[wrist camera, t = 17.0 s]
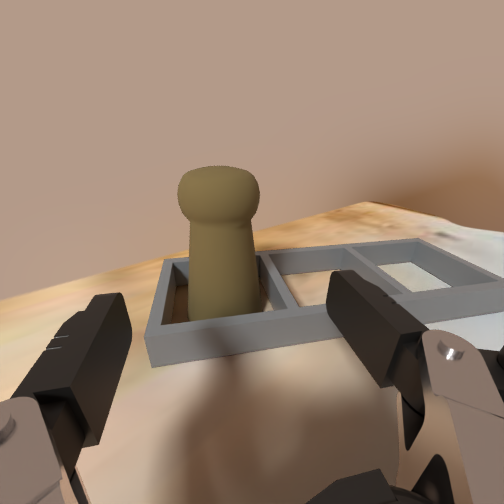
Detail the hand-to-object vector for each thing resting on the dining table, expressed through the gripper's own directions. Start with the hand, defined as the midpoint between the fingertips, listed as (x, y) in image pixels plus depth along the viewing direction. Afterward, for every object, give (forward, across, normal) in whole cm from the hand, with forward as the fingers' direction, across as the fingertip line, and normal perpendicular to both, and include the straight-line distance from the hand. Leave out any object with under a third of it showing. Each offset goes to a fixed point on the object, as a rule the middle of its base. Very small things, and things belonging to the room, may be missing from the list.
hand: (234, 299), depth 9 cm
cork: (+8, 0, +7) cm, 11 cm away
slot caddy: (+8, -9, +7) cm, 14 cm away
